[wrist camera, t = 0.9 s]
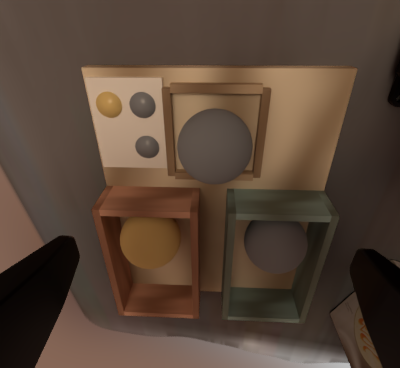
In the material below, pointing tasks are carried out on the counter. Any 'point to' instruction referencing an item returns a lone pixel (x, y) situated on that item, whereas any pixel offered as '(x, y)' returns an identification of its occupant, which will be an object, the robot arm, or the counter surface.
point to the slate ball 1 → (214, 146)
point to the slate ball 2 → (275, 245)
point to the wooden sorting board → (230, 190)
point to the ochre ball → (150, 241)
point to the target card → (129, 120)
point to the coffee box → (355, 333)
